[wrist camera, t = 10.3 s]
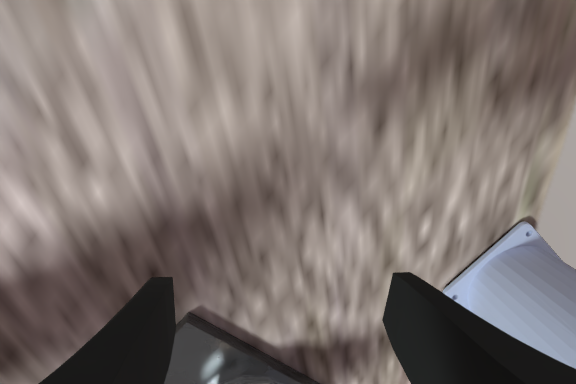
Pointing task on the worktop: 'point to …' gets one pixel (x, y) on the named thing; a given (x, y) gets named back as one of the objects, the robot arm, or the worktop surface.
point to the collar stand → (222, 359)
